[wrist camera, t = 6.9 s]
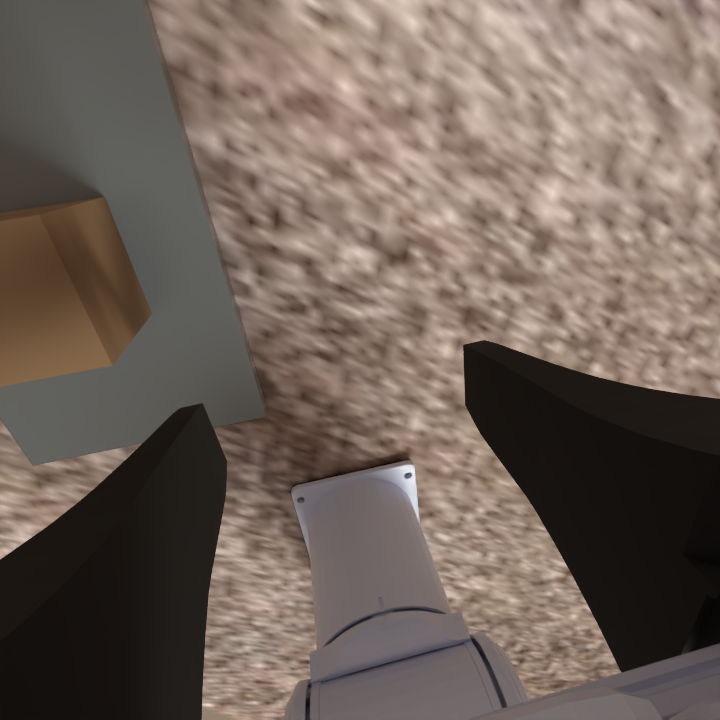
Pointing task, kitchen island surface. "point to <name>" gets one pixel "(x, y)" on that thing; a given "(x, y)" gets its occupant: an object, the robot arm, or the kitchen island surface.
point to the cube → (65, 291)
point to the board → (118, 224)
